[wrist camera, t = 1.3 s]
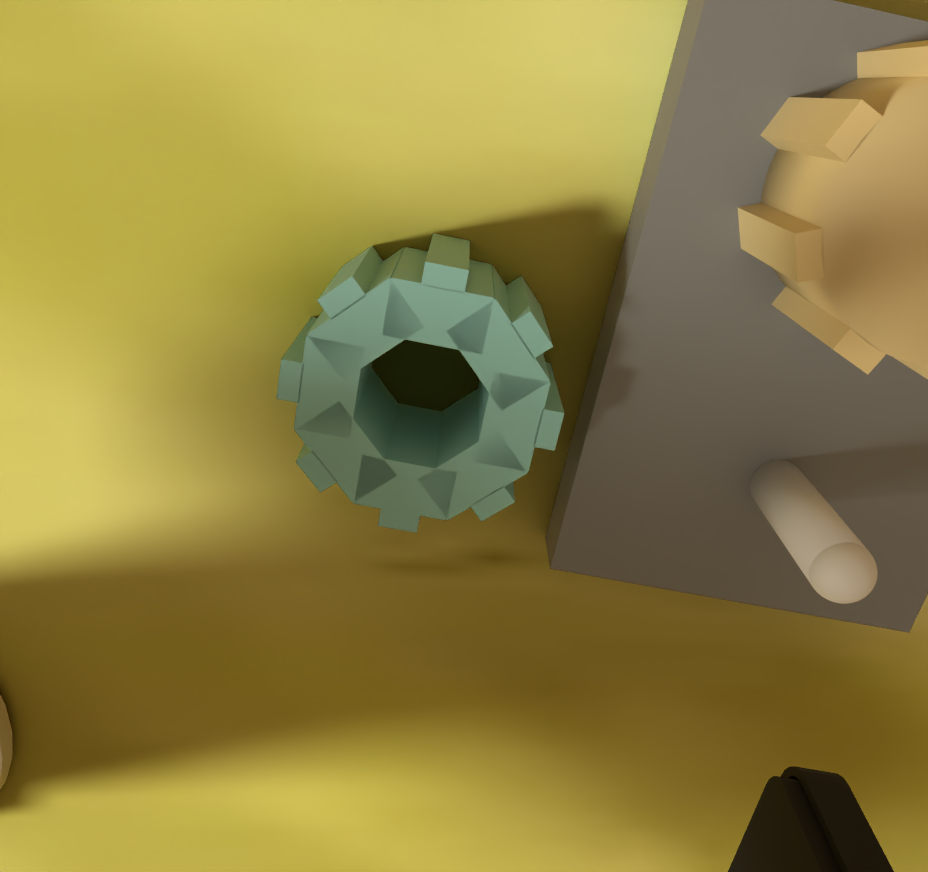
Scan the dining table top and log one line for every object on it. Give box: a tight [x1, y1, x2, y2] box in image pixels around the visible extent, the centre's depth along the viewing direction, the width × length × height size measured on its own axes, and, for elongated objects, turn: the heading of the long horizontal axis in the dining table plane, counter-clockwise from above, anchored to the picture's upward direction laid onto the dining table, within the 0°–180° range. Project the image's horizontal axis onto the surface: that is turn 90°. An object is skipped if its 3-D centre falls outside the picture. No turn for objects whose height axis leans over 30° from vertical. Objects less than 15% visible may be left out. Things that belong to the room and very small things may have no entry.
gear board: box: [545, 0, 928, 632], centre depth 22 cm, size 17×12×8 cm
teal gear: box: [277, 233, 564, 533], centre depth 24 cm, size 8×8×4 cm
